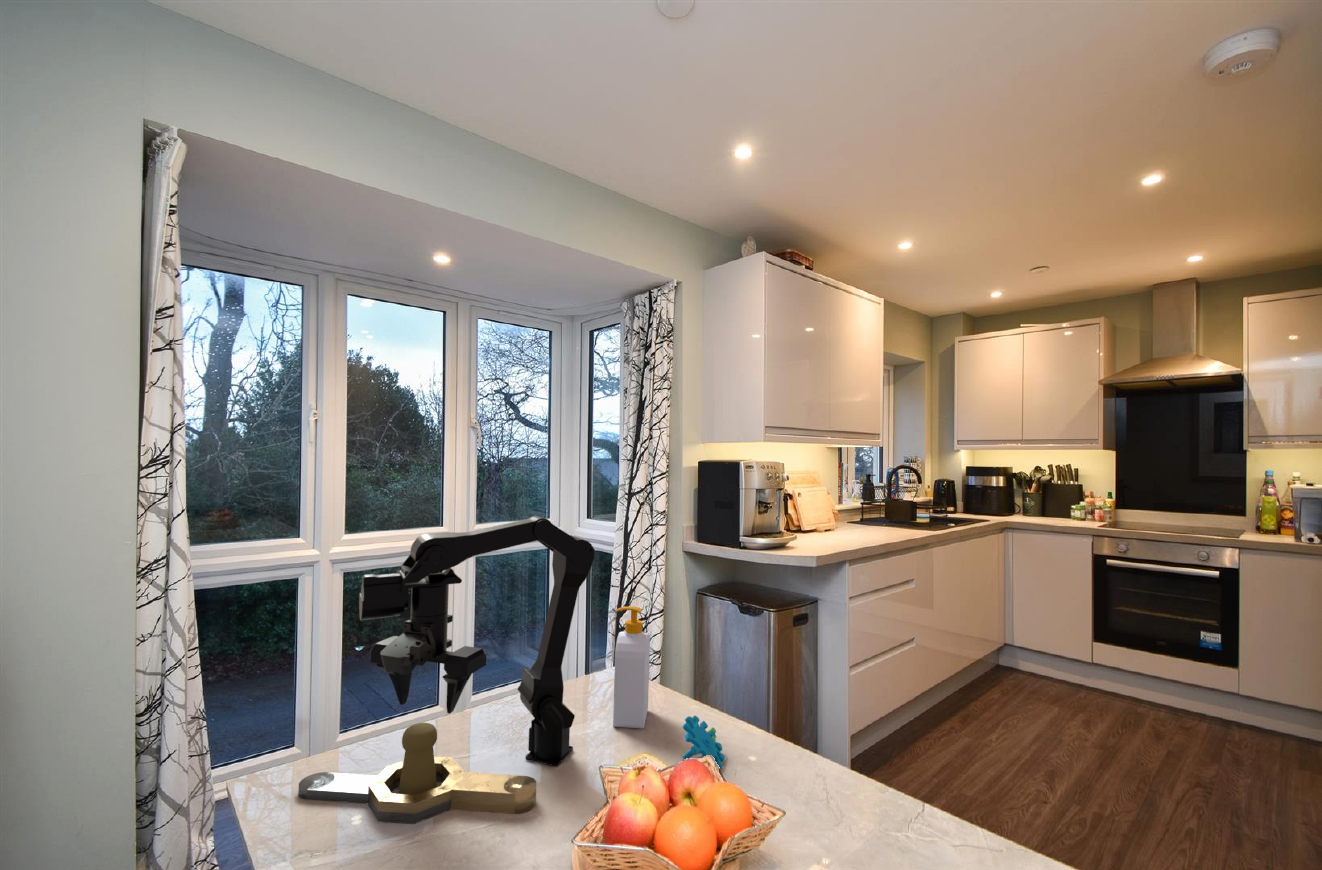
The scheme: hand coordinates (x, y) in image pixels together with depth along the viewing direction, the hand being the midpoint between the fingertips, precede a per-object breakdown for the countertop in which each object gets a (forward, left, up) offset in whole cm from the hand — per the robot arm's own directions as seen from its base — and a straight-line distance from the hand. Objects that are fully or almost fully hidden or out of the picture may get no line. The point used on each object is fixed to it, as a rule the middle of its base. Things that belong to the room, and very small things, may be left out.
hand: (426, 708), depth 96 cm
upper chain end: (-7, +1, -13) cm, 15 cm away
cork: (-1, +3, -13) cm, 13 cm away
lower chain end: (+5, +4, -13) cm, 14 cm away
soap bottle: (-22, -35, -13) cm, 44 cm away
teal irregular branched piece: (-41, -25, -13) cm, 49 cm away
